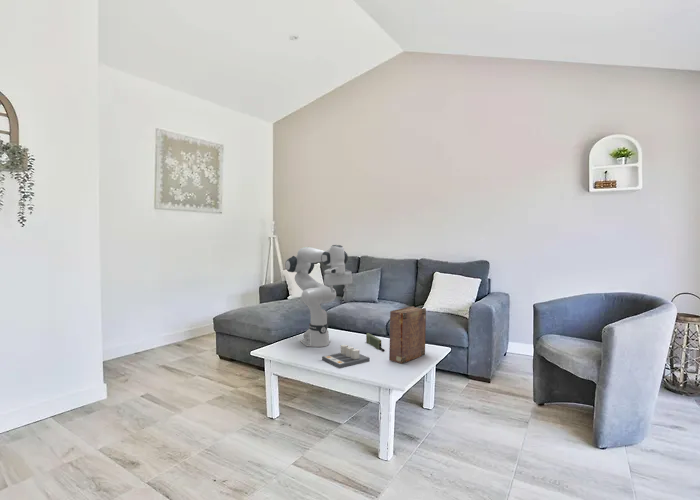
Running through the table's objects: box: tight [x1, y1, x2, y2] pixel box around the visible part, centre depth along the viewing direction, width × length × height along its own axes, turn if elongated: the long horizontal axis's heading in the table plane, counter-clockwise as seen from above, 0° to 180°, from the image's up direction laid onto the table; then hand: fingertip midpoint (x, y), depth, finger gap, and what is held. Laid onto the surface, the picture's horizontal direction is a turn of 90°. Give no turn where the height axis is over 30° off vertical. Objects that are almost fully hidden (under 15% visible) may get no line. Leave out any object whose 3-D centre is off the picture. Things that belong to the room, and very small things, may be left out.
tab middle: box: [346, 346, 355, 357], centre depth 233 cm, size 3×4×5 cm
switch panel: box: [321, 352, 370, 369], centre depth 232 cm, size 18×22×2 cm
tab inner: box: [340, 344, 349, 355], centre depth 238 cm, size 3×4×5 cm
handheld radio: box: [365, 332, 385, 352], centre depth 262 cm, size 7×3×25 cm
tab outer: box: [351, 348, 361, 360], centre depth 229 cm, size 3×4×5 cm
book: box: [388, 305, 427, 365], centre depth 239 cm, size 25×9×30 cm, turn 137°
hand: (339, 292), depth 245 cm, fingers open, 8 cm apart
